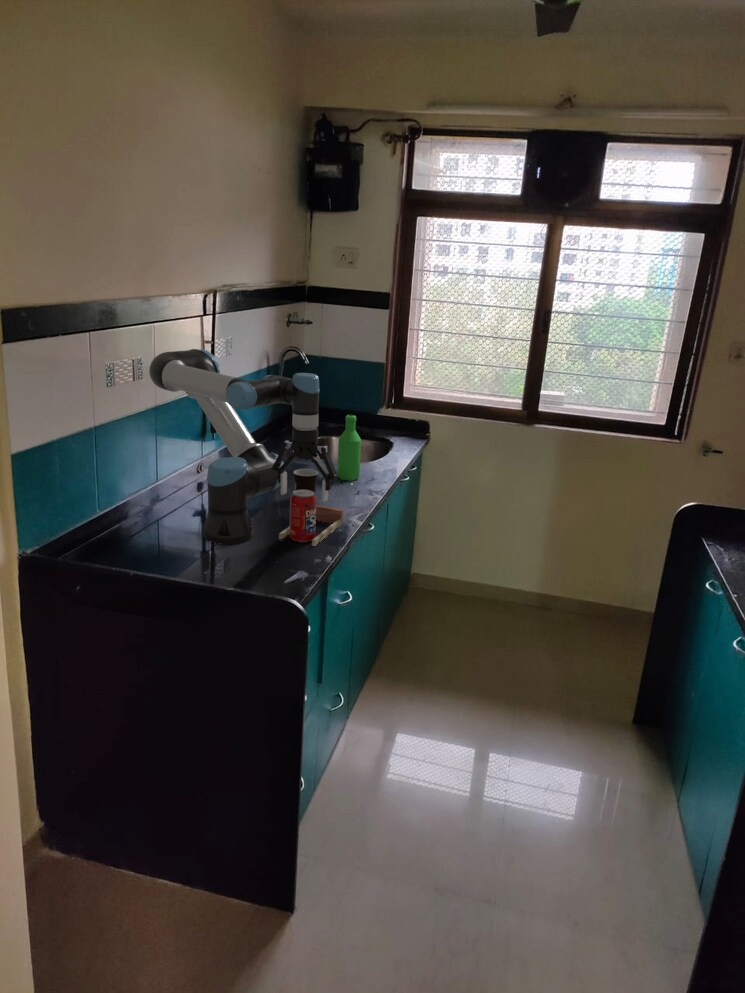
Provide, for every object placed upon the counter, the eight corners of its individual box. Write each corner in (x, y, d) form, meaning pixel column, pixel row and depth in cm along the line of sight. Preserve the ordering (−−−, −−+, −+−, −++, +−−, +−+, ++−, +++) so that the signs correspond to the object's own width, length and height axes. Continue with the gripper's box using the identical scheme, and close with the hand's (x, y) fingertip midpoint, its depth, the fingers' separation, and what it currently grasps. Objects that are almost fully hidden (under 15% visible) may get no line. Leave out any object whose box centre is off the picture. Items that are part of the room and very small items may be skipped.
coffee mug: (313, 504, 246) (314, 477, 243) (289, 501, 248) (290, 474, 245) (322, 494, 257) (323, 468, 254) (299, 491, 259) (300, 465, 256)
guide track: (314, 546, 210) (315, 531, 209) (278, 539, 214) (279, 524, 212) (342, 523, 230) (343, 509, 229) (309, 517, 234) (309, 503, 232)
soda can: (286, 535, 218) (287, 489, 213) (311, 533, 221) (312, 487, 216) (293, 545, 211) (294, 497, 206) (318, 542, 214) (319, 495, 209)
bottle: (362, 480, 276) (365, 417, 268) (341, 482, 273) (344, 418, 265) (354, 474, 284) (357, 413, 276) (334, 475, 281) (336, 413, 273)
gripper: (350, 430, 204) (347, 499, 211) (272, 420, 212) (272, 487, 219) (340, 435, 197) (337, 506, 204) (260, 424, 205) (261, 494, 212)
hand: (304, 497), depth 211 cm, fingers open, 13 cm apart
